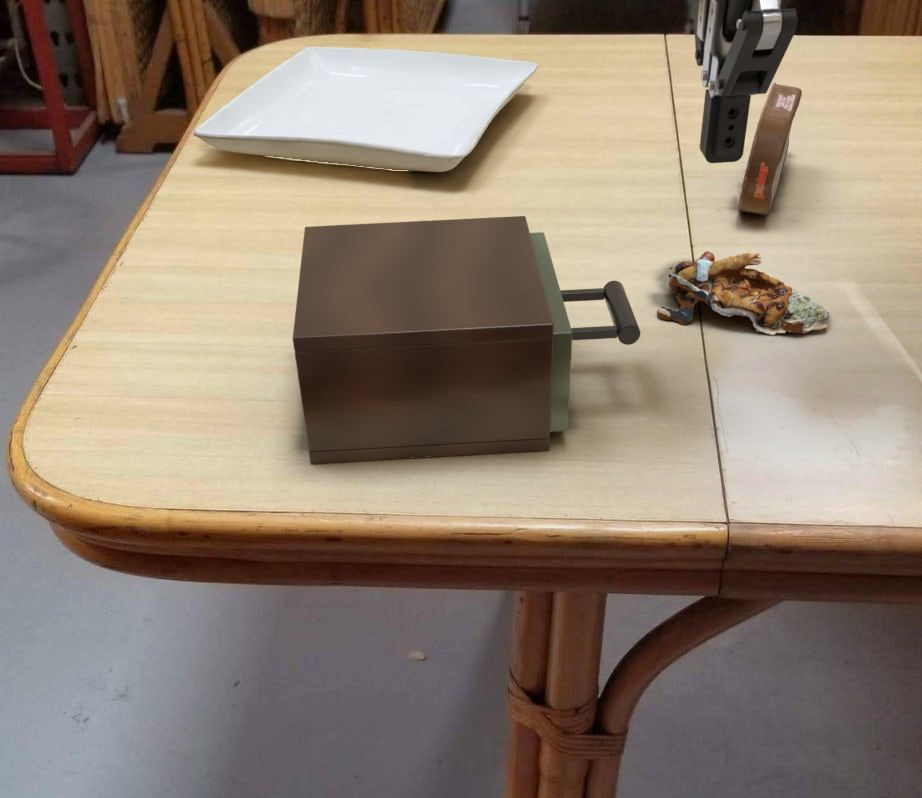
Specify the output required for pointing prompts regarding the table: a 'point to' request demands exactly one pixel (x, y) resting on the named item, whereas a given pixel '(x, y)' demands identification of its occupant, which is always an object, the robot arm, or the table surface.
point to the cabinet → (422, 340)
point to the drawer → (565, 334)
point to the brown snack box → (769, 150)
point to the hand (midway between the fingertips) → (720, 157)
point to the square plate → (369, 108)
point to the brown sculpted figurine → (742, 295)
